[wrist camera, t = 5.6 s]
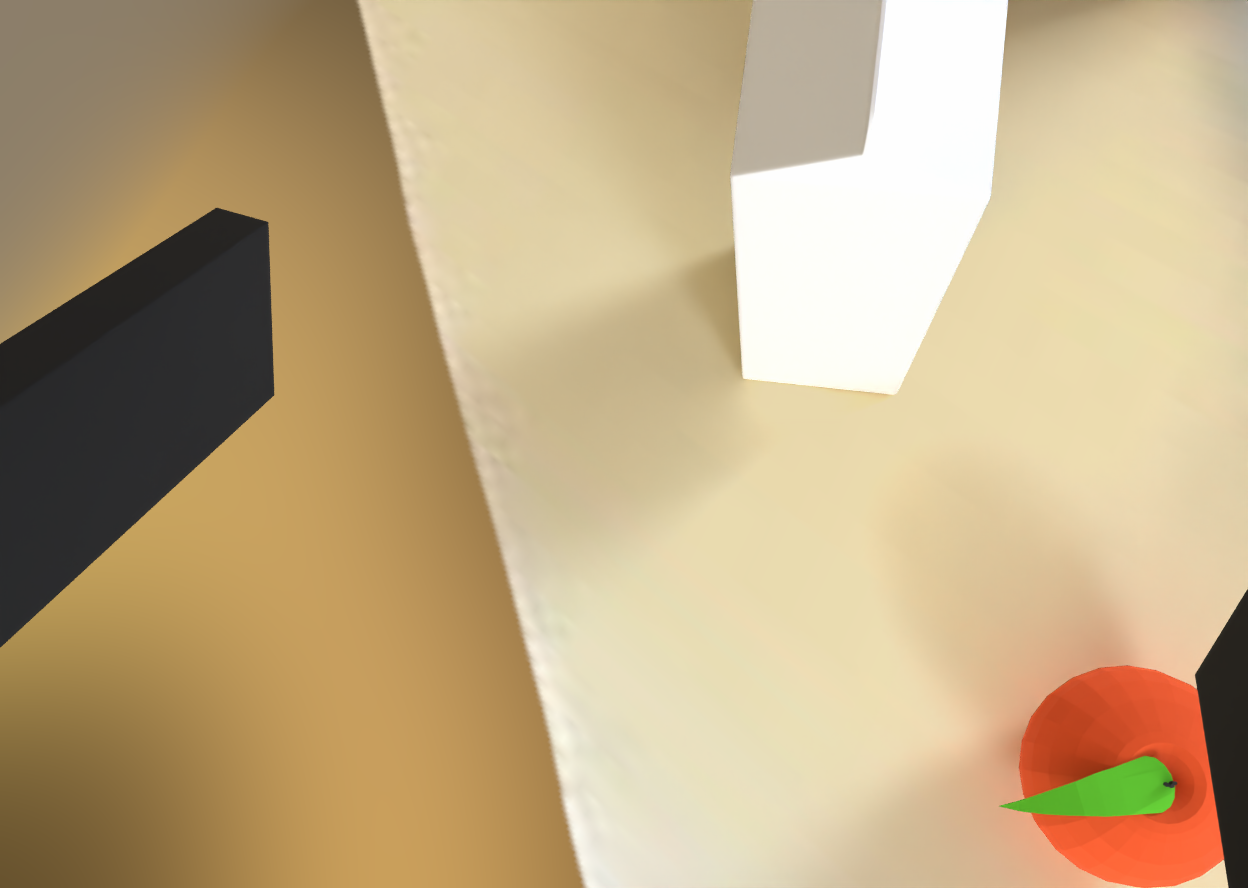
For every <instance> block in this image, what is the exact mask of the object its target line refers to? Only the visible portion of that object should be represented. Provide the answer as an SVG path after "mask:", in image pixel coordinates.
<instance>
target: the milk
mask: <svg viewBox="0 0 1248 888" xmlns="http://www.w3.org/2000/svg"><path fill="white" fill-rule="evenodd" d="M1007 7H1008V0H753V4H752V11H751V19H750V27H749V34H748V42H747V50H746V57H745V65H744V72H743V80H742V88H741V95H740V103H739V111H738V118H737V126H736V133H735V141H734V149H733V156H732V164H731V172H730V181H731V198H732V214H733V231H734V247H735V264H736V280H737V297H738V313H739V330H740V347H741V363H742V377H743V378H744V379H751V380H761V381H770V382H779V383H789V384H798V385H807V386H817V387H826V388H835V389H845V390H854V391H863V392H873V393H882V394H891V395H895V394H897V392H898V390H899V388H900V386H901V384H902V382H903V380H904V378H905V376H906V373H907V371H908V369H909V367H910V365H911V363H912V361H913V359H914V357H915V355H916V353H917V350H918V348H919V346H920V344H921V342H922V340H923V338H924V336H925V334H926V332H927V330H928V328H929V325H930V323H931V321H932V319H933V317H934V315H935V313H936V311H937V309H938V307H939V305H940V302H941V300H942V298H943V296H944V294H945V292H946V290H947V288H948V286H949V284H950V282H951V279H952V277H953V275H954V273H955V271H956V269H957V267H958V265H959V263H960V261H961V259H962V256H963V254H964V252H965V250H966V248H967V246H968V244H969V242H970V240H971V238H972V236H973V233H974V231H975V229H976V227H977V225H978V223H979V221H980V219H981V217H982V215H983V213H984V210H985V208H986V206H987V204H988V202H989V200H990V197H991V189H992V178H993V166H994V155H995V144H996V132H997V121H998V109H999V98H1000V86H1001V75H1002V64H1003V52H1004V41H1005V29H1006V18H1007Z"/></svg>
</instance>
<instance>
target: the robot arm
mask: <svg viewBox="0 0 1248 888" xmlns="http://www.w3.org/2000/svg"><path fill="white" fill-rule="evenodd" d="M268 229H269V228H268V222H266V221H263V220H259V219H255V218H252V217H248V216H245V215H241V214H237V213H233V212H230V211H227V210H223V209H219V208H215V209H214V210H212V211H211V212H209V213H207V214H206V215H204V216H203V217H201V218H200V219H198V220H197V221H195V222H193V223H192V224H190V225H189V226H187V227H185V228H184V229H182V230H180V231H179V232H178V233H176V234H174V235H173V236H171V237H169V238H168V239H166V240H165V241H163V242H161V243H160V244H158V245H157V246H155V247H154V248H152V249H150V250H149V251H147V252H146V253H144V254H142V255H141V256H139V257H138V258H136V259H134V260H133V261H131V262H130V263H128V264H127V265H125V266H123V267H122V268H120V269H119V270H117V271H115V272H114V273H112V274H111V275H109V276H108V277H106V278H104V279H103V280H101V281H99V282H98V283H96V284H95V285H93V286H92V287H90V288H88V289H87V290H85V291H84V292H82V293H80V294H79V295H77V296H76V297H74V298H72V299H71V300H69V301H68V302H66V303H64V304H63V305H61V306H60V307H58V308H57V309H55V310H53V311H52V312H51V313H49V314H47V315H45V316H44V317H42V318H41V319H39V320H37V321H36V322H35V323H33V324H31V325H30V326H28V327H26V328H25V329H23V330H22V331H20V332H18V333H17V334H15V335H14V336H12V337H11V338H9V339H7V340H6V341H4V342H3V343H1V344H0V647H1V646H3V644H5V643H6V642H7V641H8V640H9V639H10V638H11V637H12V636H13V635H14V634H16V632H17V631H19V630H20V629H21V628H22V627H23V626H24V625H25V624H26V623H27V622H29V621H30V620H31V619H32V618H33V617H34V616H35V615H36V614H37V613H38V612H39V611H40V610H41V609H43V608H44V607H45V606H46V605H47V604H48V603H49V602H50V601H51V600H52V599H54V598H55V597H56V596H57V595H58V594H59V593H60V592H61V591H62V590H63V589H64V588H65V587H66V586H68V585H69V584H70V583H71V582H72V581H73V580H74V579H75V578H76V577H77V576H78V575H80V574H81V573H82V572H83V571H84V570H85V569H86V568H87V567H88V566H89V565H90V564H91V563H93V561H95V560H96V559H97V558H98V557H99V556H100V555H101V554H102V553H103V552H104V551H105V550H107V549H108V548H109V547H110V546H111V545H112V544H113V543H114V542H115V541H116V540H118V539H119V538H120V537H121V536H122V535H123V534H124V533H125V532H126V531H127V530H128V529H129V528H131V527H132V526H133V525H134V524H135V523H136V522H137V521H138V520H139V519H140V518H141V517H142V516H144V515H145V514H146V513H147V512H148V511H149V510H150V509H151V508H152V507H153V506H154V505H156V504H157V503H158V502H159V501H160V500H161V499H162V498H163V497H164V496H165V495H166V494H167V493H169V491H171V490H172V489H173V488H174V487H175V486H176V485H177V484H178V483H179V482H180V481H182V480H183V479H184V478H185V477H186V476H187V475H188V474H189V473H190V472H191V471H192V470H194V468H195V467H197V466H198V465H199V464H200V463H201V462H202V461H203V460H204V459H205V458H207V457H208V456H209V455H210V454H211V453H212V452H213V451H214V450H215V449H216V448H217V447H218V446H219V445H221V444H222V443H223V442H224V441H225V440H226V439H227V438H228V437H229V436H230V435H231V434H233V433H234V432H235V431H236V430H237V429H238V428H239V427H240V426H241V425H242V424H243V423H245V422H246V421H247V420H248V419H249V418H250V417H251V416H252V415H253V414H254V413H255V412H256V411H258V410H259V409H260V408H261V407H262V406H263V405H264V404H265V403H266V402H267V401H268V400H269V399H271V398H272V397H273V396H274V374H273V346H272V316H271V286H270V257H269V230H268ZM1195 678H1196V684H1197V690H1198V697H1199V703H1200V709H1201V716H1202V722H1203V728H1204V735H1205V741H1206V747H1207V754H1208V760H1209V766H1210V773H1211V779H1212V785H1213V792H1214V798H1215V804H1216V811H1217V817H1218V823H1219V830H1220V836H1221V842H1222V848H1223V855H1224V861H1225V867H1226V874H1227V880H1228V886H1229V888H1248V589H1247V591H1246V593H1245V594H1244V596H1243V597H1242V599H1241V601H1240V602H1239V604H1238V606H1237V607H1236V609H1235V611H1234V612H1233V614H1232V615H1231V617H1230V619H1229V620H1228V622H1227V624H1226V625H1225V627H1224V628H1223V630H1222V632H1221V633H1220V635H1219V637H1218V638H1217V640H1216V642H1215V643H1214V645H1213V646H1212V648H1211V650H1210V651H1209V653H1208V655H1207V656H1206V658H1205V659H1204V661H1203V663H1202V664H1201V666H1200V668H1199V669H1198V671H1197V673H1196V674H1195Z"/></svg>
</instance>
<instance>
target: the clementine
mask: <svg viewBox="0 0 1248 888" xmlns="http://www.w3.org/2000/svg"><path fill="white" fill-rule="evenodd" d="M1019 770H1020V777H1021V783H1022V790H1023V795H1024V797H1025V799H1023V800H1020V801H1016V802H1012V803H1008V804H1004V805H1001V806H1000V807H1005V808H1009V809H1013V810H1017V811H1022V812H1030V813H1032V816H1033V818H1034V820H1035V822H1036V823H1037V825H1038V826H1039V828H1040V829H1041V830H1042V832H1043V833H1044V834H1045V836H1046V837H1047V838H1048V840H1049V841H1050V842H1051V844H1052V845H1053V846H1054V848H1055V849H1056V850H1057V851H1059V852H1060V853H1061V854H1062V855H1064V856H1065V857H1066V858H1067V859H1069V860H1070V861H1071V862H1072V863H1073V864H1075V865H1076V866H1077V867H1078V868H1080V869H1082V870H1084V871H1086V872H1088V873H1090V874H1093V875H1095V876H1097V877H1099V878H1101V879H1103V880H1105V881H1108V882H1113V883H1119V884H1124V885H1129V886H1134V887H1141V888H1152V887H1166V886H1175V885H1178V884H1181V883H1184V882H1186V881H1189V880H1192V879H1195V878H1197V877H1200V876H1202V875H1203V874H1205V873H1206V872H1207V871H1209V870H1210V869H1211V868H1213V867H1214V866H1216V865H1217V864H1218V863H1220V862H1221V861H1222V860H1224V855H1223V848H1222V842H1221V836H1220V830H1219V823H1218V817H1217V811H1216V804H1215V798H1214V792H1213V785H1212V779H1211V773H1210V766H1209V760H1208V754H1207V747H1206V741H1205V735H1204V728H1203V722H1202V716H1201V709H1200V703H1199V697H1198V690H1197V689H1195V688H1194V687H1193V686H1191V685H1189V684H1187V683H1184V682H1182V681H1180V680H1178V679H1175V678H1173V677H1171V676H1168V675H1166V674H1164V673H1161V672H1159V671H1156V670H1151V669H1145V668H1139V667H1133V666H1117V667H1105V668H1098V669H1095V670H1092V671H1090V672H1087V673H1084V674H1082V675H1079V676H1076V677H1074V678H1072V679H1070V680H1069V681H1067V682H1066V683H1064V684H1063V685H1062V686H1060V687H1059V688H1058V689H1056V690H1055V691H1054V692H1052V693H1051V694H1049V695H1048V696H1047V697H1046V698H1045V700H1044V701H1043V702H1042V704H1041V705H1040V706H1039V707H1038V709H1037V710H1036V711H1035V713H1034V714H1033V715H1032V717H1031V719H1030V721H1029V724H1028V726H1027V729H1026V731H1025V734H1024V736H1023V739H1022V744H1021V753H1020V762H1019Z"/></svg>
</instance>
